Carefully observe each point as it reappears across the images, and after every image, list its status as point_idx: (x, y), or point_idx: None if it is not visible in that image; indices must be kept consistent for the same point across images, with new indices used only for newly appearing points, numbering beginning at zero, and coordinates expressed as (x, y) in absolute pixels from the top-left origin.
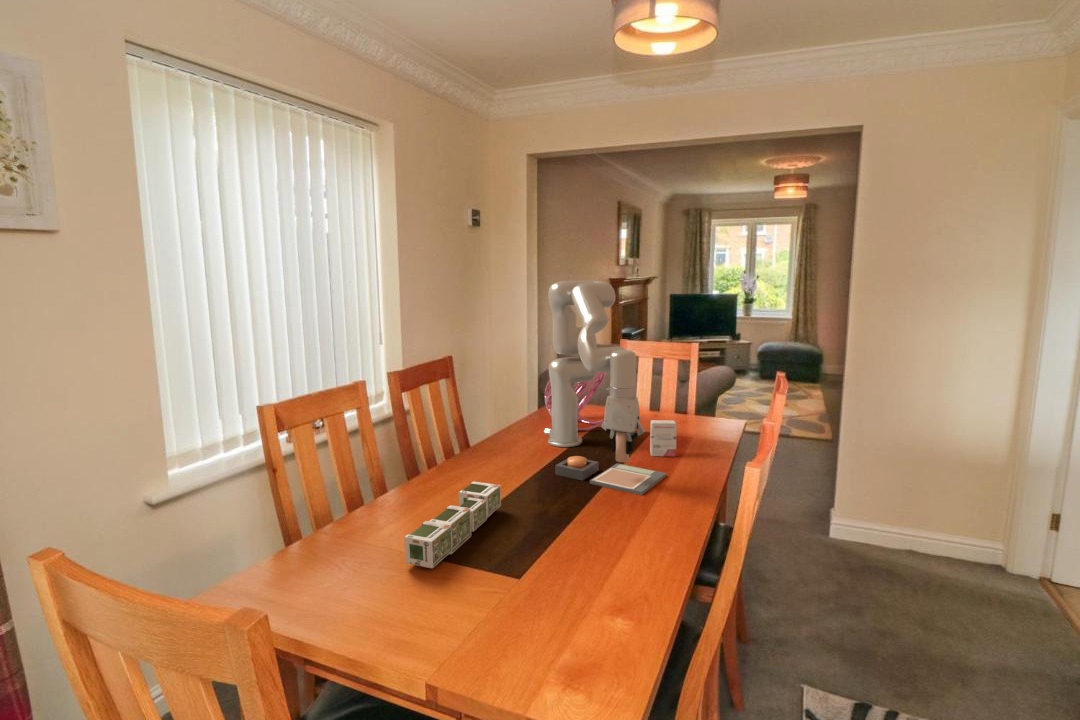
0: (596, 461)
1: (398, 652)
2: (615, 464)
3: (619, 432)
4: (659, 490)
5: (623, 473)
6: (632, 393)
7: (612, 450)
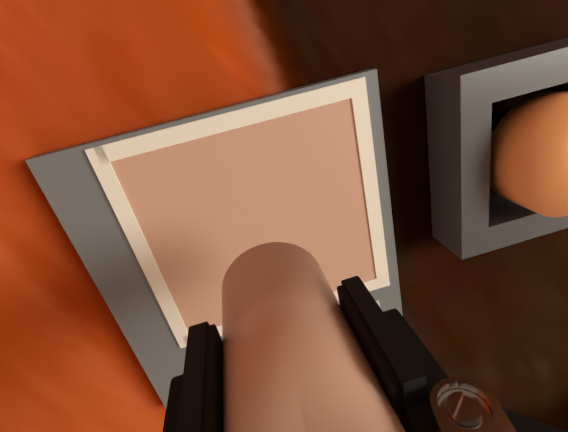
0: (473, 255)
1: None
2: None
3: None
4: (43, 274)
5: None
6: None
7: (356, 279)
